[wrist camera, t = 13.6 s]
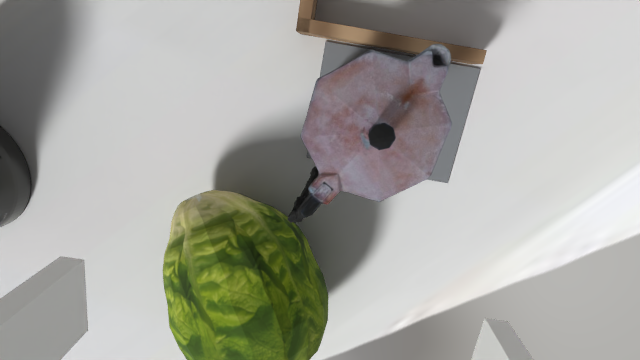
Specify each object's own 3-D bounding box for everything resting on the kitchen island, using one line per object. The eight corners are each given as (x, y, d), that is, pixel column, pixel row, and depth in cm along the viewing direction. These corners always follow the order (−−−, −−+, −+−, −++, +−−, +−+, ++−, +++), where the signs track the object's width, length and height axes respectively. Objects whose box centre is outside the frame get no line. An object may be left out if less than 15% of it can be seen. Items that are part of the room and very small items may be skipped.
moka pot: (438, 80, 39) (528, 94, 20) (348, 193, 43) (350, 295, 24) (364, 23, 37) (383, -22, 18) (279, 144, 42) (224, 211, 23)
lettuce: (295, 158, 45) (220, 161, 31) (368, 321, 43) (325, 404, 29) (197, 210, 51) (95, 233, 36) (259, 357, 49) (177, 441, 34)
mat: (306, 157, 42) (306, 157, 42) (325, 41, 38) (325, 41, 38) (447, 182, 42) (447, 183, 42) (479, 68, 38) (480, 68, 38)
